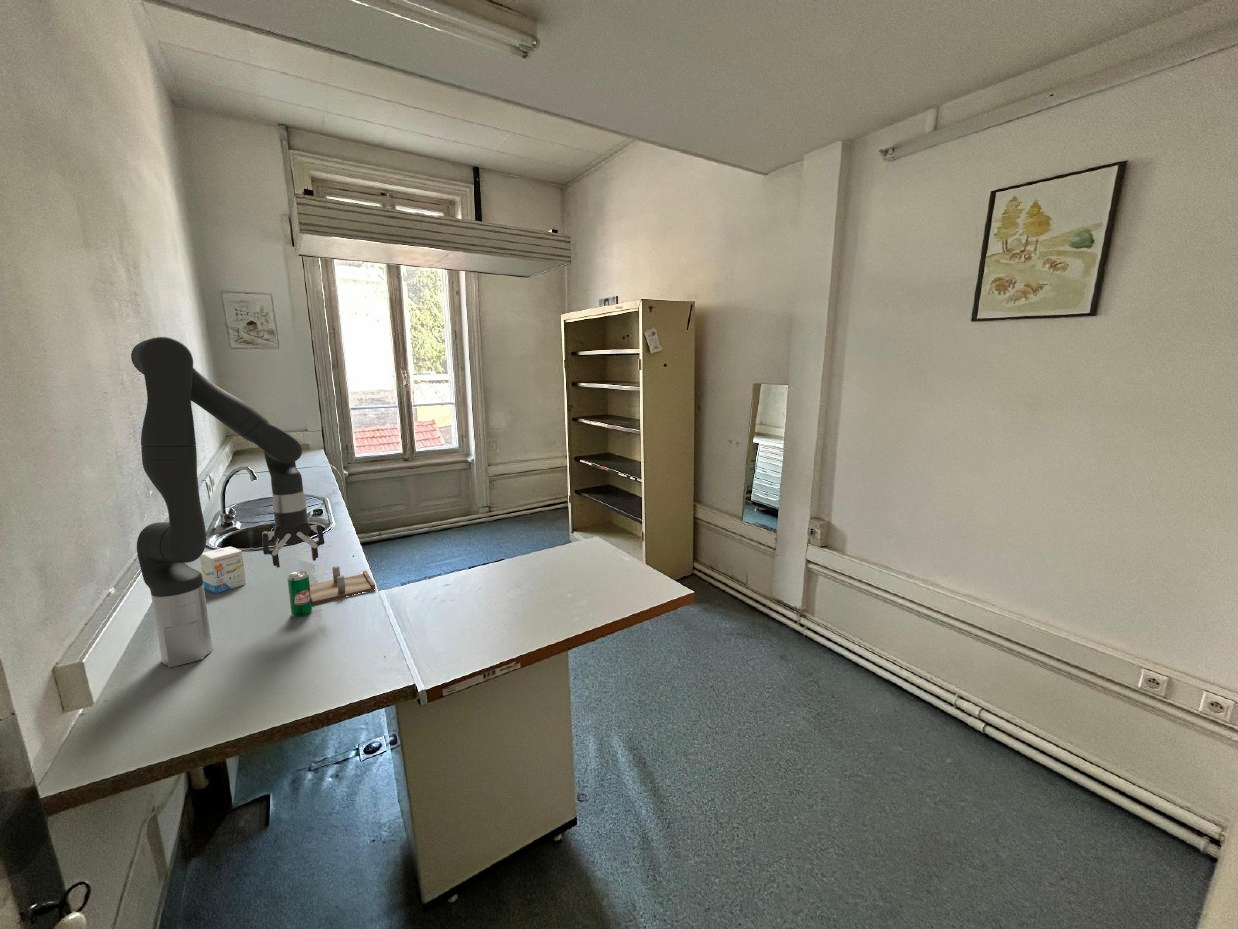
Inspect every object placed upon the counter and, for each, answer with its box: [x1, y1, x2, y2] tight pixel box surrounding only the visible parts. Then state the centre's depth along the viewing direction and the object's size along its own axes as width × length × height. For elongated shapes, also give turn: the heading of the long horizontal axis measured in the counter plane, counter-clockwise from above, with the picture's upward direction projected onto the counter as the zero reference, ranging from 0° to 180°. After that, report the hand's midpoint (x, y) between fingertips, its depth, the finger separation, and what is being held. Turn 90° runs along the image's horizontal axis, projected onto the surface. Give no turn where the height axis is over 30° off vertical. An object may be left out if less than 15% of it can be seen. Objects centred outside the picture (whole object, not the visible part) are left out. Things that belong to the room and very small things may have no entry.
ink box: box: [199, 546, 247, 594], centre depth 155 cm, size 9×8×12 cm
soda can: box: [287, 570, 313, 618], centre depth 138 cm, size 5×5×12 cm
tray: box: [310, 565, 376, 606], centre depth 153 cm, size 14×18×6 cm
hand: (296, 563), depth 136 cm, fingers open, 8 cm apart
